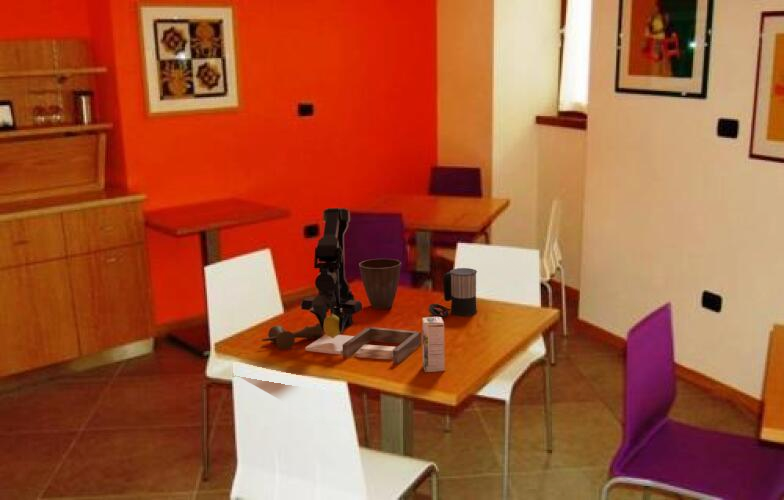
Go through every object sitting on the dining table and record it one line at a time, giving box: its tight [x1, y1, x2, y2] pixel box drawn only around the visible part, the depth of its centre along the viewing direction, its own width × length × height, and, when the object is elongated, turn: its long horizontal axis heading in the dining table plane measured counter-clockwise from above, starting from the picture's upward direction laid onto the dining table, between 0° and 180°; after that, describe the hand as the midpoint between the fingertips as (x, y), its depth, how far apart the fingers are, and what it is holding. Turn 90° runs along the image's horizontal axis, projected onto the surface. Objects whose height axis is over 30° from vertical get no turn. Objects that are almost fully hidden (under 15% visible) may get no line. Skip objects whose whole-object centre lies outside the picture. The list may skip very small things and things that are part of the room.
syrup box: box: [421, 316, 446, 373], centre depth 228 cm, size 6×6×14 cm
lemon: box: [323, 313, 341, 338], centre depth 251 cm, size 6×6×8 cm
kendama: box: [261, 322, 324, 351], centre depth 256 cm, size 6×10×20 cm
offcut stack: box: [354, 344, 397, 361], centre depth 242 cm, size 12×4×3 cm, turn 72°
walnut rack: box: [342, 326, 423, 365], centre depth 245 cm, size 18×18×4 cm
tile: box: [304, 333, 355, 355], centre depth 253 cm, size 12×14×1 cm
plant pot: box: [358, 258, 402, 310], centre depth 290 cm, size 15×15×16 cm
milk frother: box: [428, 267, 478, 318], centre depth 278 cm, size 14×16×15 cm
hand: (332, 331), depth 252 cm, fingers closed on lemon, 5 cm apart
